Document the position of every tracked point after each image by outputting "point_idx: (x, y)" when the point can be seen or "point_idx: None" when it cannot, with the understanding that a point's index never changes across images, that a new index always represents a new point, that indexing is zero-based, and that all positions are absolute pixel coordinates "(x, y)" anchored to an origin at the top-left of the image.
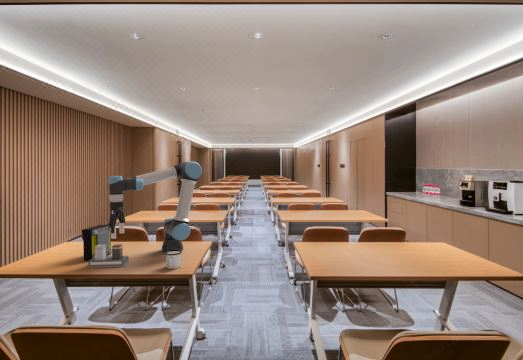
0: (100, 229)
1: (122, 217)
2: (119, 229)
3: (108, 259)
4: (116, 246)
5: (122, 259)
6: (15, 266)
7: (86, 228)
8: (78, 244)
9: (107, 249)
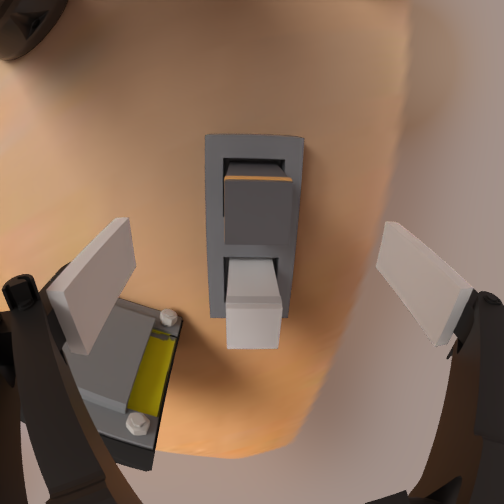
0: None
1: (29, 397)
2: (120, 291)
3: None
4: (290, 209)
5: (288, 147)
6: (234, 450)
7: (115, 462)
8: None
9: None
